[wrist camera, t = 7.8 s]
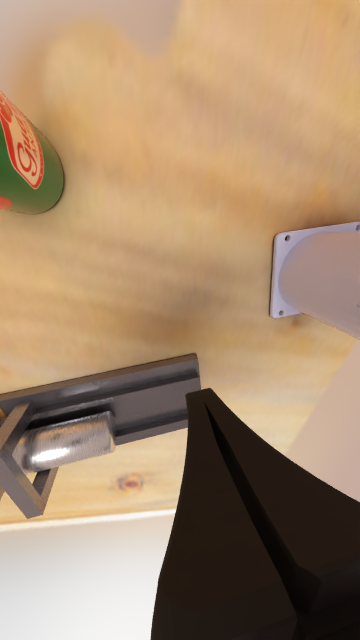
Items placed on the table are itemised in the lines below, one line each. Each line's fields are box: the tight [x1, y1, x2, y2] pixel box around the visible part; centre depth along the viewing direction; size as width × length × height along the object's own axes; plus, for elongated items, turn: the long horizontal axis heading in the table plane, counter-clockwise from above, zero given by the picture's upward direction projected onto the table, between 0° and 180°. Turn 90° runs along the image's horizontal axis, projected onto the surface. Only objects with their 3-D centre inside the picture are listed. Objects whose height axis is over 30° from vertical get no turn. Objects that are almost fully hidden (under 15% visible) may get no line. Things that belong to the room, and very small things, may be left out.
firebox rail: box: [0, 354, 201, 519], centre depth 19 cm, size 25×9×6 cm, turn 97°
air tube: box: [12, 411, 116, 475], centre depth 19 cm, size 13×4×4 cm, turn 97°
